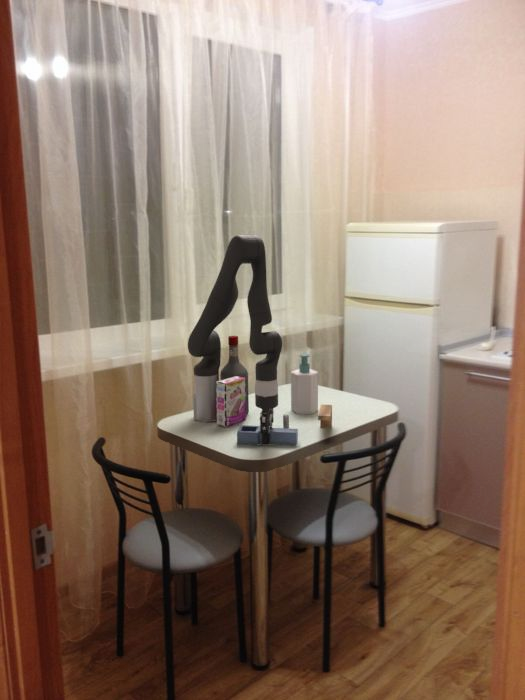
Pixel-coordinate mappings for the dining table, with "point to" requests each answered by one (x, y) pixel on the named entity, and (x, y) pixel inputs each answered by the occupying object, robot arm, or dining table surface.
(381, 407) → the dining table surface
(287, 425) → the cylinder
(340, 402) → the dining table surface
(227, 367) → the liquor
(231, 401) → the candy bar box
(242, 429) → the link
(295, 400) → the soap bottle
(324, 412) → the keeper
